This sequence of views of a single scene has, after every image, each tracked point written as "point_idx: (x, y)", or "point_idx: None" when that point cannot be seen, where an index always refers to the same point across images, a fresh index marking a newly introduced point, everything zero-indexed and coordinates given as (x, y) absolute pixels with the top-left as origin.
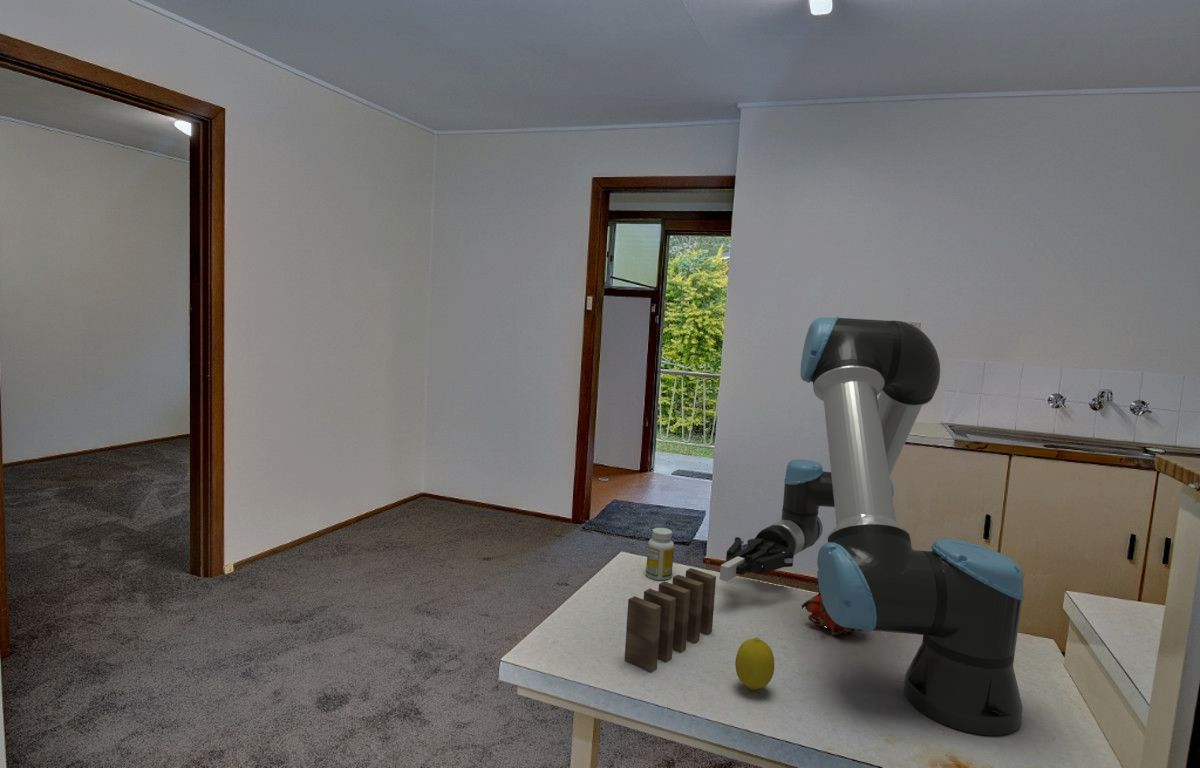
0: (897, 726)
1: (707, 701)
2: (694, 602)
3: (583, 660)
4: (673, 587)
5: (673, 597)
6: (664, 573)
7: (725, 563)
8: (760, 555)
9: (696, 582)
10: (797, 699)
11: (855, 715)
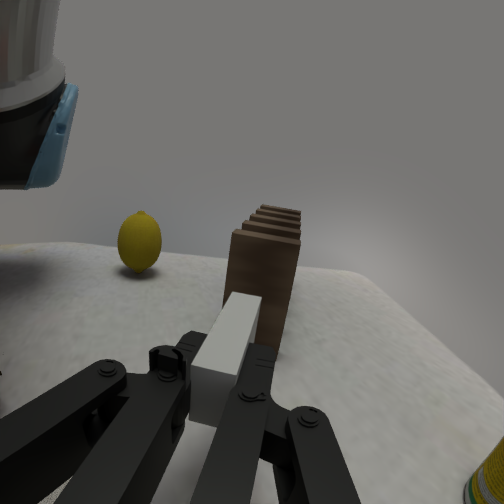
0: (12, 257)
1: (182, 261)
2: None
3: (319, 279)
4: (276, 218)
5: (259, 210)
6: (476, 474)
7: (253, 308)
8: (93, 450)
9: (254, 223)
10: (91, 269)
11: (42, 262)
